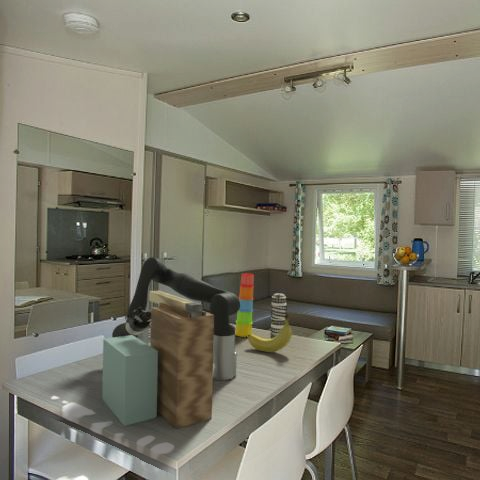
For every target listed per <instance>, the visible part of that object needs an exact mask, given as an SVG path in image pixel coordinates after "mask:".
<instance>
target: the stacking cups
mask: <svg viewBox="0 0 480 480" xmlns="http://www.w3.org/2000/svg"><path fill="white" fill-rule="evenodd" d="M254 277H255V276H254V273H241V279H240V285H239V296H237V297H238V299H239V301H240V309H239V311H238V312H237V313H236V320H235V323H236V324H235V337H236V336H237V337H240V338H247V337H246V336H248V335H249V334H251V333H252V327H253V324H254V323H253V312H254V309H253V307H254V305H253V304H254V288H255V286H254Z"/></svg>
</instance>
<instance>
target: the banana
mask: <svg viewBox="0 0 480 480" xmlns="http://www.w3.org/2000/svg"><path fill="white" fill-rule="evenodd" d="M286 313H287V314H285V315H286V316H285V317H284V318H285V324H284V326H283V328H282V329H281V331H280V332H279V334H278V335H277V336H276V337H274V338H273V339H271V338H268V339H267V338H262V337H260V336H259V335H255V334H253V333H252V334H249V335H248V337H247V339H248V343H249V344H250V346H252V348H254V350H255V349H256V350H257V351H259V350H260V352H262V351H266V352H265V353H274V352H279V351H280V350H281V349H283V348H285V347H286V346H287V345H288V344H289V343H290V341H291V339H292V337H293V336H292V335H293V334H292V333H293V332H292V328H291V327H290V324H289V320H290V317H291V314H290V313H288V312H286Z"/></svg>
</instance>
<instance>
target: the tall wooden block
mask: <svg viewBox="0 0 480 480" xmlns="http://www.w3.org/2000/svg"><path fill="white" fill-rule="evenodd" d="M158 305H159V306H155V307H154V306H152V307H151V308H150V310H151V325H150V326H151V345H150V346H151V347H152V348H154V349H155V350H157V351H158V370H157V412H158V413H159V414H160V415H161V416H162V417H163V418H164V419H165V420H166V421H168V422H169V424H170V425H172V426H173V428H175V429H176V430H177V429H179V428H184V427H186V426H187V427H188V426H192V425H193V424H194V425H195V424H197V423H201V422H204V420H205V421H208V420H211V419H212V418H213V417H212V416H213V415H212V414H213V380H214V379H213V341H214V315H213V314H210V312H207V311H206V310H205V311H204V310H202V316H200V317H190V313H187V312H184V311H182V310H179V309H177V308H174V307H171V306H169V305H166V304H163V303H159V304H158ZM207 419H208V420H207Z"/></svg>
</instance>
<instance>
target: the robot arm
mask: <svg viewBox="0 0 480 480" xmlns="http://www.w3.org/2000/svg"><path fill="white" fill-rule="evenodd" d="M140 269H141V270H140V274H139V276H138V280H137V283H136V287H135V291H134V294H133V298H132V299H131V302H130V304H129V306H128V309H127V311H126V313H125V316H124V320H125V322H124V323H120V324H117V326H115V328H114V329H113V330H112V334H111V338H114V337H121V336H129V335H133V336H135V337H136V338H138V334H139V333H141V332H143V331H144V330H145V329H146V328H147V327H148V326H149V324H150V322H151V309H150V310H147V306H148V301H149V300H148V299H149V295H148V294H149V286H150V283H151V281H152V282H155V283H158V284H160V285H163V286H165V287H166V286H167V287H168V288H170V289H171V290H173V291H174V292H176V293H178V294H179V295H181V296H183V297H185V298H187V299H188V300H192V301H197V302H203V303H208V304H209V313H210V314H213V315H214V341H213V363H214V364H215V368H214V373H213V380H216V381H229V379H230V380H232V379H234V378H235V377H234V376H236V377H237V357H238V354H237V352H236V350H235V349H236V348H235V347H236V346H235V345H236V344H235V343H236V341H235V340H236V335H235V332H236V326H234V325H233V324H231V323H230V316H232V315H235V314H237V312H238V311H239V309H240V301H239V298H238V297H239V296H237V295H236V294H235V293H233V292H232V291H231V292H230V291H227V290H225V289H221V288H218V287H216V286H213V285H212V284H209V283H207V282H205V281H203V280H201V279H199V278H197V277H195V276H193V275H191V274H188V273H182V272H181V273H180V272H176V271H175V270H173V269H171V268H170V267H169V266H167V265H166V264H165V263H164V262H163V261H161V260H160V259H159V258H157V257H154V256H152V257H148V258H147V259H146V260H145V261H144V263H143V264H142V266H141V268H140ZM233 377H234V378H233ZM231 378H232V379H231Z"/></svg>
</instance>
